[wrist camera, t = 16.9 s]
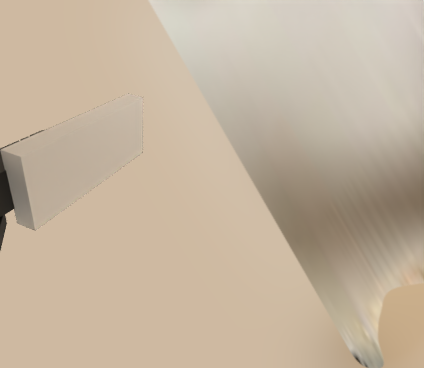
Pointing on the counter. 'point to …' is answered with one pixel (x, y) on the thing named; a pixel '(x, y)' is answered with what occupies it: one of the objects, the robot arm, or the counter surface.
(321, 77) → the counter surface
